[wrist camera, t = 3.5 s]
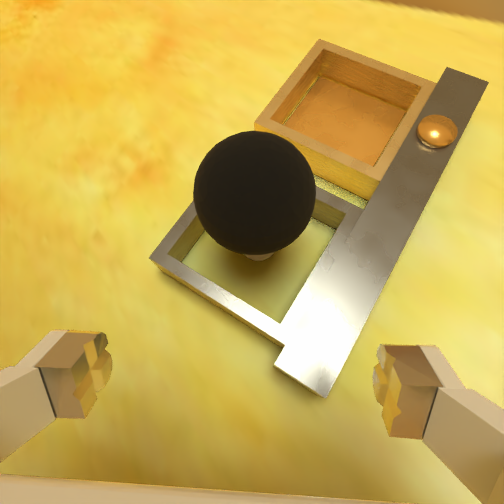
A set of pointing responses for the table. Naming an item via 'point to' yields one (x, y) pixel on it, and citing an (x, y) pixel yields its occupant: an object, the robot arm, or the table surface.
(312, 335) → the rail
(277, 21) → the table surface
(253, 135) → the light bulb
